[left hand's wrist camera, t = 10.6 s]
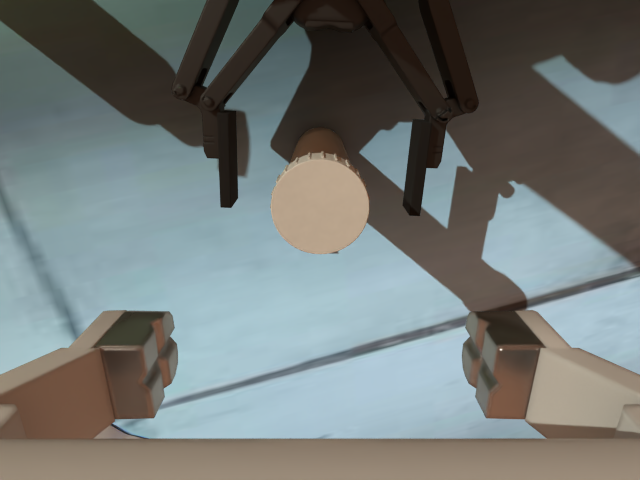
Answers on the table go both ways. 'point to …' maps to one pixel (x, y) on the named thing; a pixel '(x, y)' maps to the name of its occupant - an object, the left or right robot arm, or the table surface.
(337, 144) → the brown slim bottle
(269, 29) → the right robot arm
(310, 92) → the table surface
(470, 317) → the left robot arm
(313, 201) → the lid
